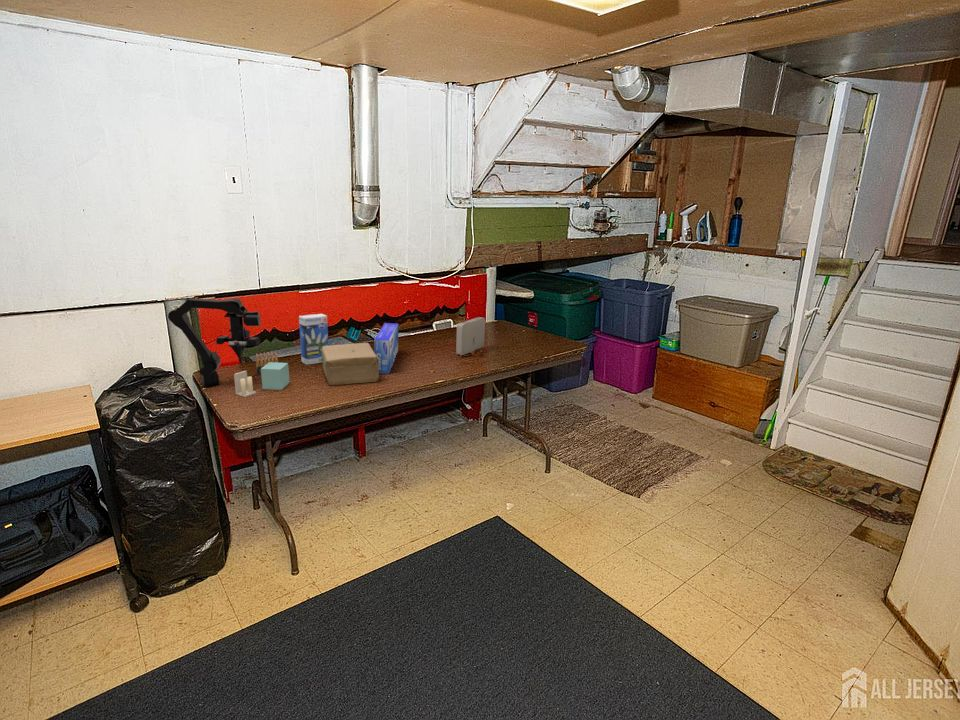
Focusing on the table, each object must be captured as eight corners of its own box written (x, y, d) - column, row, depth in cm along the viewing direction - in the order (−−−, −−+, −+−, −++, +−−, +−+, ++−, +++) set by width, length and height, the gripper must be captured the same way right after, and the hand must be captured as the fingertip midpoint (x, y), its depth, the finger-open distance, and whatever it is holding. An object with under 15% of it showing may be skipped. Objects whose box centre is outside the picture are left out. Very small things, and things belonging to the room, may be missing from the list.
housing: (262, 389, 251) (260, 368, 248) (270, 381, 260) (269, 362, 257) (281, 389, 251) (280, 369, 248) (289, 382, 260) (288, 363, 257)
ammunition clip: (278, 372, 276) (276, 350, 273) (279, 373, 275) (277, 351, 271) (256, 375, 271) (254, 352, 267) (257, 376, 269) (255, 353, 266)
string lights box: (306, 365, 289) (303, 318, 282) (300, 361, 295) (297, 315, 287) (329, 361, 298) (327, 315, 290) (323, 357, 303) (321, 312, 296)
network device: (464, 359, 311) (465, 325, 305) (452, 356, 315) (452, 323, 309) (487, 349, 332) (488, 318, 326) (475, 347, 336) (476, 315, 330)
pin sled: (236, 394, 243) (233, 374, 240) (247, 391, 248) (245, 370, 246) (245, 397, 241) (243, 376, 238) (256, 393, 246) (254, 372, 243)
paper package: (321, 370, 284) (320, 344, 280) (370, 366, 292) (370, 341, 288) (326, 387, 260) (324, 359, 255) (379, 382, 268) (379, 356, 264)
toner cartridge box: (390, 374, 281) (389, 340, 276) (374, 373, 281) (373, 339, 275) (398, 353, 318) (398, 322, 313) (384, 352, 318) (384, 322, 312)
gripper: (263, 322, 258) (266, 354, 262) (225, 321, 258) (228, 352, 263) (253, 328, 247) (256, 361, 252) (213, 326, 247) (217, 359, 252)
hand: (240, 358), depth 255 cm, fingers closed
